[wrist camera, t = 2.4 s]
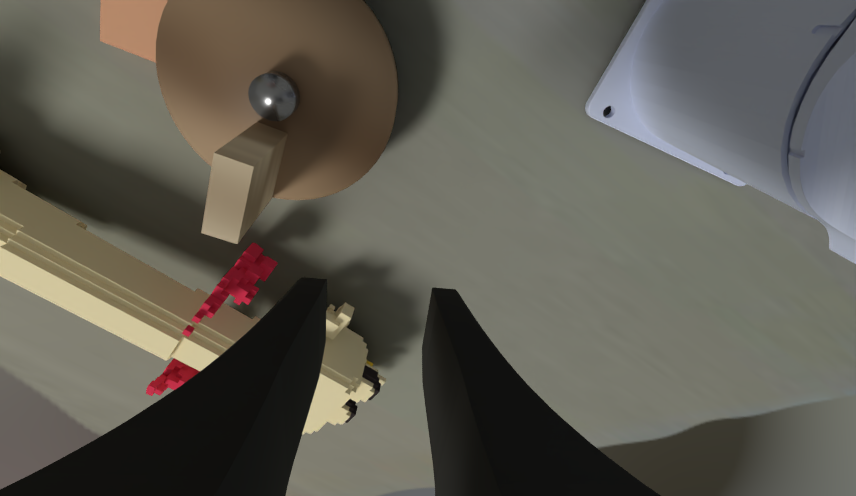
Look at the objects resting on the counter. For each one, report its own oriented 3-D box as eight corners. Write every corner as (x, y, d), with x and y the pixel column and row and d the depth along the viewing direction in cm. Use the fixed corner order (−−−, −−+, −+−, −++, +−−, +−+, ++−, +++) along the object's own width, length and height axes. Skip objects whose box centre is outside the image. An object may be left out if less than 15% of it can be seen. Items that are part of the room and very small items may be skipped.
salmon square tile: (179, 2, 16) (171, 2, 15) (173, 64, 17) (165, 66, 16) (111, -27, 15) (101, -28, 15) (109, 39, 16) (100, 40, 16)
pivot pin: (304, 81, 15) (299, 85, 14) (294, 122, 16) (288, 128, 15) (260, 63, 14) (253, 66, 14) (252, 106, 15) (244, 111, 15)
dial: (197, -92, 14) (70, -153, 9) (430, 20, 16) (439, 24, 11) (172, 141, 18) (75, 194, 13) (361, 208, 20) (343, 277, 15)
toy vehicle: (-71, 202, 21) (336, 418, 28) (-372, 299, 13) (295, 567, 20) (-36, 31, 17) (426, 329, 24) (-429, 26, 9) (418, 470, 16)
